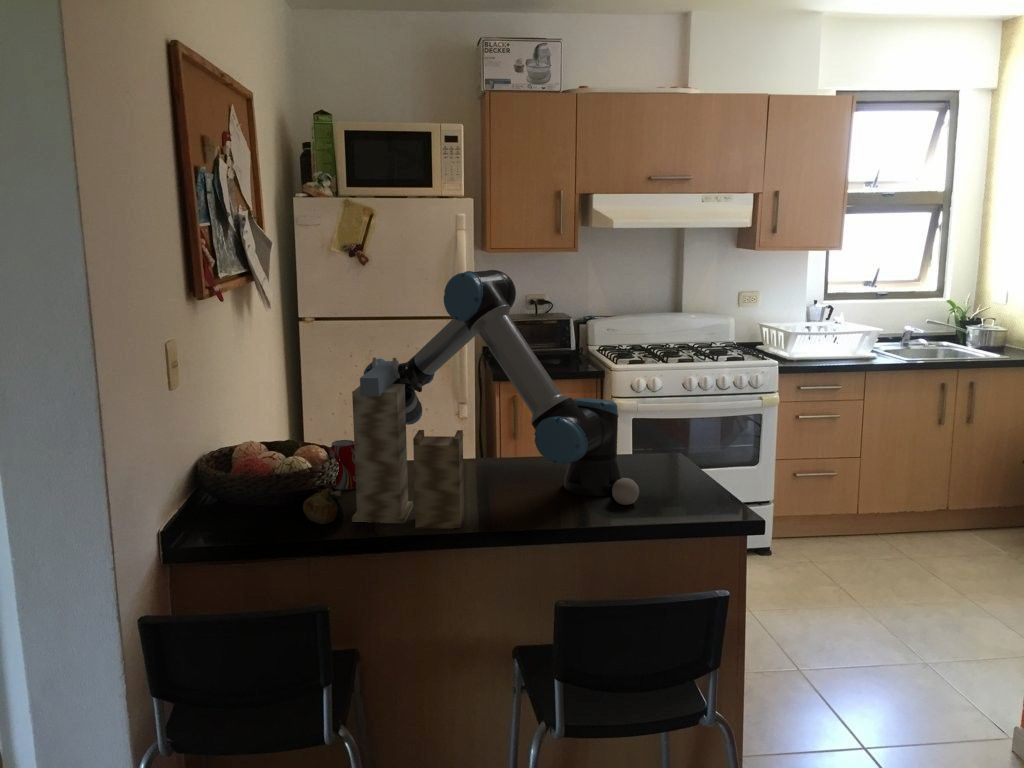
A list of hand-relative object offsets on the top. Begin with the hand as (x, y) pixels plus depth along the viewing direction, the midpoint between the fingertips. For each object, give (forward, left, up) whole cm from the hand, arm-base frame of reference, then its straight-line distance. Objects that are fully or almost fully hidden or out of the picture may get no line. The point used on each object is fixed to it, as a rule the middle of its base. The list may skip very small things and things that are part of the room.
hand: (384, 363), depth 195 cm
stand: (0, +6, -35) cm, 35 cm away
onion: (+13, +12, -35) cm, 39 cm away
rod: (0, +4, -5) cm, 6 cm away
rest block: (-14, +11, -35) cm, 39 cm away
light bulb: (-57, -5, -35) cm, 67 cm away
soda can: (+14, -14, -35) cm, 40 cm away
